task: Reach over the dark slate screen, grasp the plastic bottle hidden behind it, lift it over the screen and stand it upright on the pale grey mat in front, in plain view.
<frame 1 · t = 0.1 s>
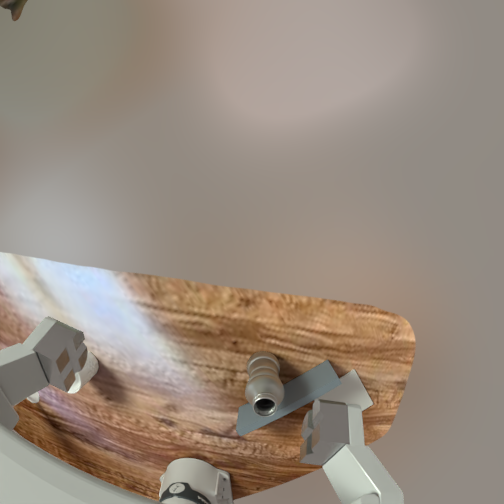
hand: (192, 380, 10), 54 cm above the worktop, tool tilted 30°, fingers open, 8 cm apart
white cup: (87, 362, 65), on the worktop
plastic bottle: (263, 362, 64), on the worktop
slate screen: (284, 387, 64), on the worktop
champagne flute: (31, 392, 66), on the worktop
grey mat: (343, 399, 64), on the worktop
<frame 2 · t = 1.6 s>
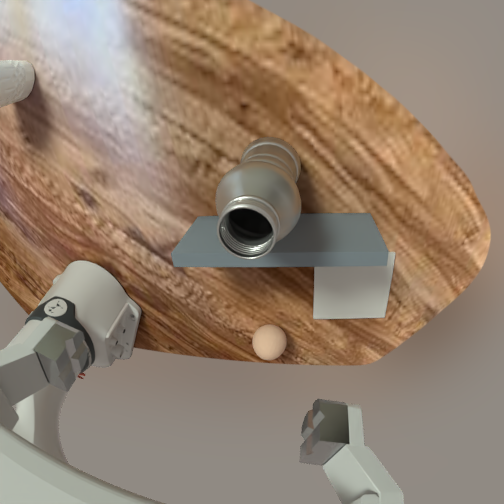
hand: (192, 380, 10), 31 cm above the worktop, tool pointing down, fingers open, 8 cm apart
white cup: (22, 80, 34), on the worktop
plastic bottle: (272, 160, 37), on the worktop
slate screen: (283, 219, 40), on the worktop
egg: (271, 328, 49), on the worktop
grey mat: (352, 286, 43), on the worktop
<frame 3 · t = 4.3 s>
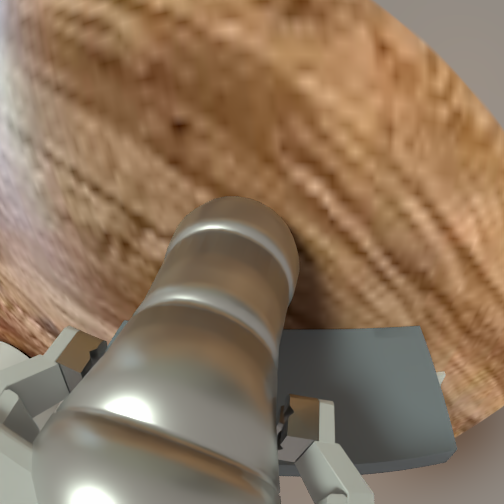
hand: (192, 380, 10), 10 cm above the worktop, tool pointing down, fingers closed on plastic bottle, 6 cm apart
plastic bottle: (243, 238, 19), on the worktop, touching gripper
slate screen: (265, 337, 22), on the worktop
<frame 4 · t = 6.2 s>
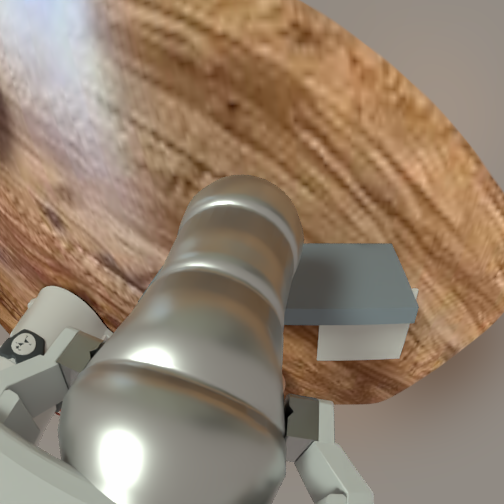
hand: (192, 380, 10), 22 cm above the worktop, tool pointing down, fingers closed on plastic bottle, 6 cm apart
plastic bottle: (250, 214, 20), point 10 cm above the worktop, touching gripper
slate screen: (282, 250, 32), on the worktop
grey mat: (364, 326, 35), on the worktop
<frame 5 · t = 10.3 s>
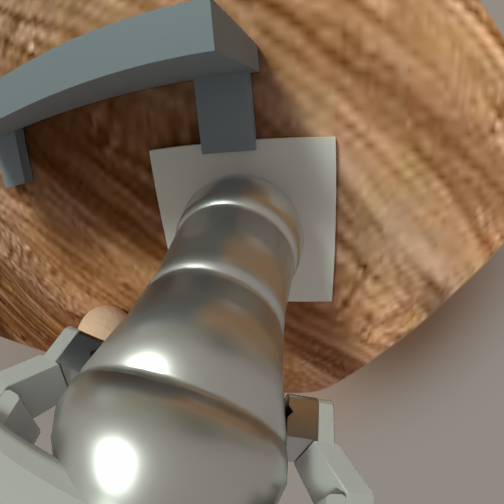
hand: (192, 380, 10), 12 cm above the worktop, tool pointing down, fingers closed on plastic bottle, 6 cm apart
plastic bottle: (249, 214, 19), resting on grey mat, touching gripper
slate screen: (91, 91, 17), on the worktop
egg: (122, 315, 26), on the worktop
grey mat: (246, 226, 20), on the worktop
when the fingers open (12 cm above the worktop, at t = 10.8 s): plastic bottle stays where it is, resting on grey mat.
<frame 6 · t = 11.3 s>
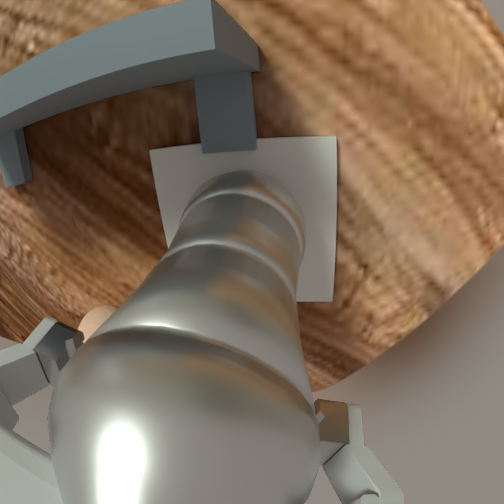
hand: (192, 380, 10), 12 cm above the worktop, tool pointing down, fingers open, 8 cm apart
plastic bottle: (250, 213, 19), resting on grey mat
slate screen: (91, 91, 17), on the worktop
egg: (122, 315, 26), on the worktop
grey mat: (247, 226, 20), on the worktop
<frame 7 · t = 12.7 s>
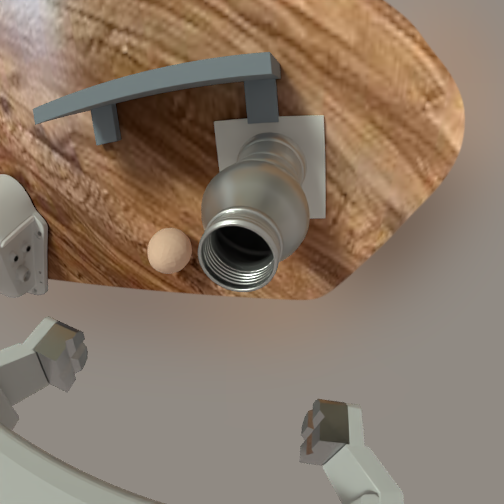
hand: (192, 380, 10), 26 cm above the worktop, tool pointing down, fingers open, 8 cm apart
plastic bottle: (274, 160, 32), resting on grey mat
slate screen: (174, 83, 29), on the worktop
egg: (178, 238, 39), on the worktop
grey mat: (271, 168, 32), on the worktop
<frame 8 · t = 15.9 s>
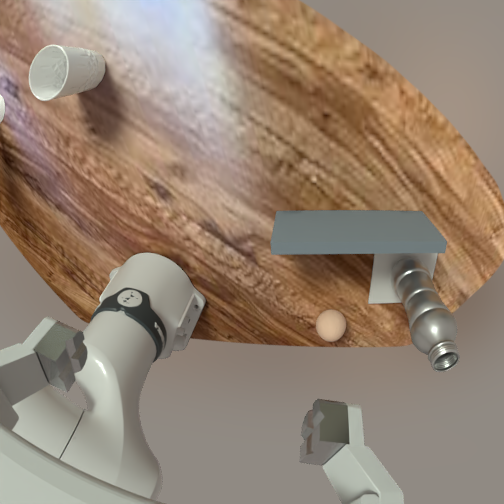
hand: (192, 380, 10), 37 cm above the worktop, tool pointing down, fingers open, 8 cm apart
white cup: (89, 70, 39), on the worktop
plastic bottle: (406, 269, 47), resting on grey mat
slate screen: (352, 215, 45), on the worktop
egg: (330, 313, 54), on the worktop
grey mat: (403, 274, 48), on the worktop
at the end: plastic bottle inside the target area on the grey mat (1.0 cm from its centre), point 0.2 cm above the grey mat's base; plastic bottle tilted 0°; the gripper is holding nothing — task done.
